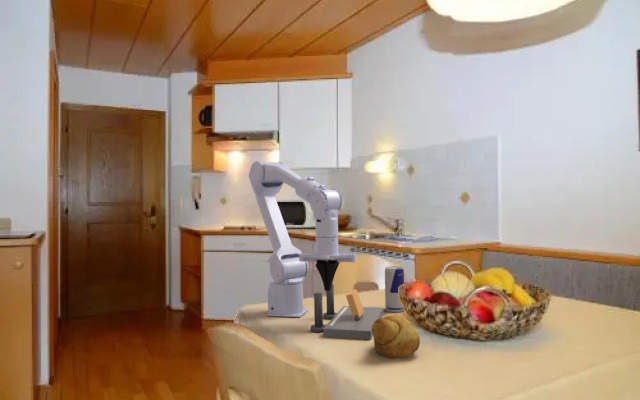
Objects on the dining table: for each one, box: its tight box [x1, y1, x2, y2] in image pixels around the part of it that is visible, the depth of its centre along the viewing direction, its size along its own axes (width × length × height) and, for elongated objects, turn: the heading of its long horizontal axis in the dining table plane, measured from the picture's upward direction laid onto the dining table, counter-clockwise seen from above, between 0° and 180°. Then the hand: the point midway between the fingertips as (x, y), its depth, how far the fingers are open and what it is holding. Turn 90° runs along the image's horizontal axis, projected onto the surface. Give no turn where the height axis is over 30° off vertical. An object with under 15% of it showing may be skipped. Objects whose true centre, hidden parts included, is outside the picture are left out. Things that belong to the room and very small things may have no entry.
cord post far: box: [323, 283, 338, 321], centre depth 128 cm, size 4×4×9 cm
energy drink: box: [384, 265, 405, 313], centre depth 134 cm, size 5×5×12 cm
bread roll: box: [372, 314, 421, 359], centre depth 101 cm, size 13×10×8 cm
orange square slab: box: [345, 288, 364, 320], centre depth 120 cm, size 2×6×6 cm, turn 165°
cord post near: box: [310, 292, 327, 334], centre depth 116 cm, size 4×4×9 cm
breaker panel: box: [323, 305, 384, 341], centre depth 120 cm, size 11×22×2 cm, turn 165°
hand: (328, 290), depth 122 cm, fingers closed
